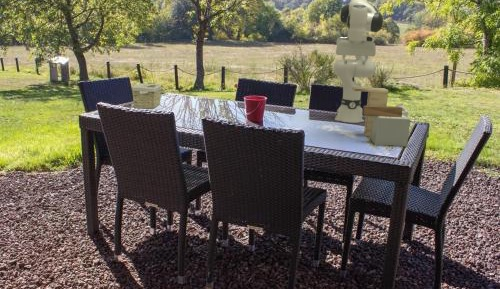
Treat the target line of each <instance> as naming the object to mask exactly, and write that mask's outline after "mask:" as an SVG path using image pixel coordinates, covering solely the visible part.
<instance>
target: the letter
mask: <svg viewBox="0 0 500 289" xmlns="http://www.w3.org/2000/svg"><path fill="white" fill-rule="evenodd" d="M378 117H380V118H392V119H408V118H409V117H408V118H406V117H405V116H404V115H402V117H392V116H378Z"/></svg>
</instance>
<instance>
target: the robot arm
mask: <svg viewBox="0 0 500 289" xmlns="http://www.w3.org/2000/svg"><path fill="white" fill-rule="evenodd" d="M338 14H339V20H340V22H341V23H343V24H346V27H347V28H348V30H347V36H345V37H343V36H340V37H338V38H336V43H335V45H336V49H335V54H336V55H337V56H342V57H341V58H342V59H337V60H336V61H335V62H334V64H333V73H334V75H335V76H337V77H338V79H339V80H340V81H341V84H342V99H341V103H340V105H339V107H338V109H336V113H337V115H336V116H335V118H334V121H337V122H338V121H339V122H342V123H343V122H344V123H351V124H354V123H365V119H363V108H362V107H361V106H362V105H361V104H362V99H361V96H362V91H354V90H353V89H352V87H361V85H360V84H358V83H357V82H355V81H354V80H353V79H354V78H361V79H363V78H364V79H365V78H370V77H373V76H374V75H375V73H376V64H375V63H374V62H373V61H372V60H371V59H370V57H375V56H376V53H377V49H376V47H377V46H376V43H375V40H376V38H375V37H373V36H370V35H367V33H368V32H370V33H371V32H372V33H378V32H380V31H381V30H382V28H383V26H384V17H383V14H382V13H381V12H379V11H378V9H377V8H376V7H375V6H374V5H372V4H370V3H369V2H368V0H350V1H349V4H348V3H347V4H345V5H343V6H342V7H341V8H340V10H339V13H338ZM346 56H350V57H351V56H352V57H353V56H354V57H355V59H353V58H352V59H350V58H349V59H347V58H346Z"/></svg>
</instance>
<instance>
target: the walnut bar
mask: <svg viewBox="0 0 500 289" xmlns="http://www.w3.org/2000/svg"><path fill="white" fill-rule="evenodd" d="M402 110H403V108H402V107H396V106H389V105H388V106H367V105H363V108H362V116H364V117H366V116H392V117H402Z"/></svg>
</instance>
